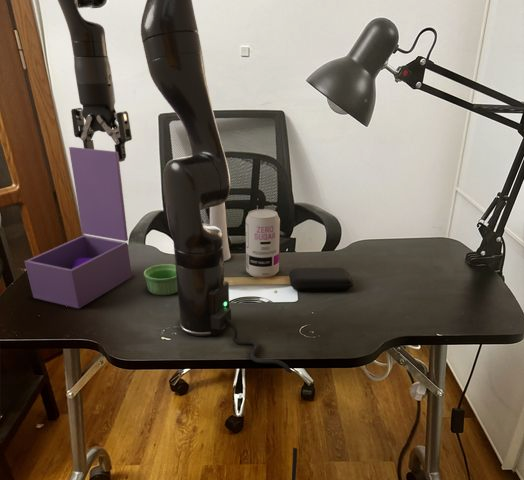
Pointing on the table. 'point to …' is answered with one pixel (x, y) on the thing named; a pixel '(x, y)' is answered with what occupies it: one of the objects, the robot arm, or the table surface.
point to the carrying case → (320, 279)
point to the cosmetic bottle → (220, 226)
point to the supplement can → (262, 243)
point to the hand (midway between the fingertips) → (106, 159)
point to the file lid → (99, 192)
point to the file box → (79, 271)
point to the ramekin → (161, 279)
